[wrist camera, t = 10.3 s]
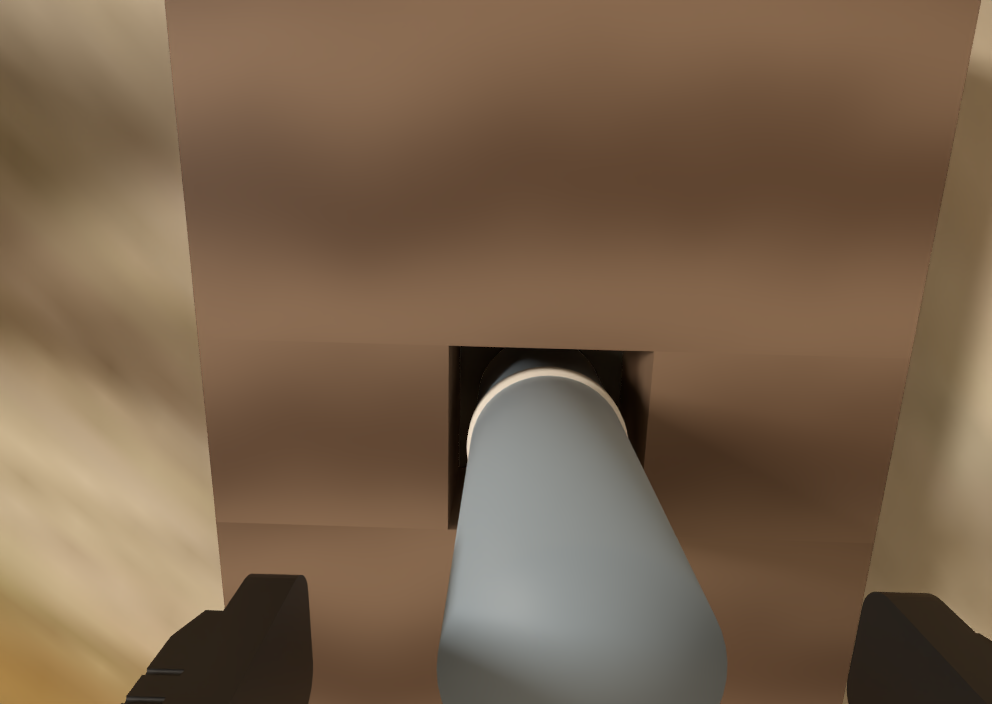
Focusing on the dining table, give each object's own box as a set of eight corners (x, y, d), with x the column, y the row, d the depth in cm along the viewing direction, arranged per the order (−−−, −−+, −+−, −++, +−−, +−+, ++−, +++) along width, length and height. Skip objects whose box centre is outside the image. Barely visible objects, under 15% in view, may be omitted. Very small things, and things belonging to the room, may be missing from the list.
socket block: (238, 18, 18) (161, -32, 14) (877, 31, 17) (984, -16, 13) (285, 669, 23) (240, 766, 19) (771, 686, 23) (825, 788, 19)
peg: (476, 332, 20) (429, 533, 8) (608, 336, 20) (753, 544, 8) (474, 455, 21) (430, 789, 9) (599, 458, 21) (716, 799, 9)
